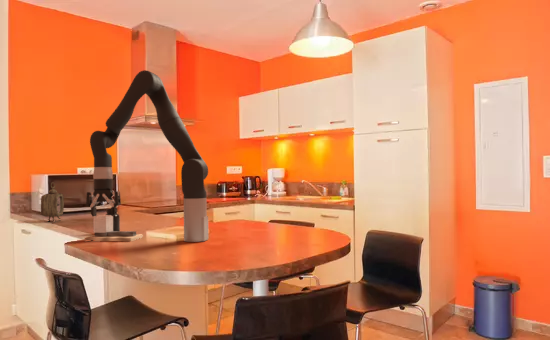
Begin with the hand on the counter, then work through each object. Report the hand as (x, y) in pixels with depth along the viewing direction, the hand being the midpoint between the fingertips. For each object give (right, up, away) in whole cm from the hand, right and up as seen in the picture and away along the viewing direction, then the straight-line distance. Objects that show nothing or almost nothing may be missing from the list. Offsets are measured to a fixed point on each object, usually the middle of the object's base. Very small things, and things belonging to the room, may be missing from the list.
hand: (103, 216), depth 168 cm
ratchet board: (+5, -10, -1) cm, 11 cm away
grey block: (0, -7, 0) cm, 7 cm away
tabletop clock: (-68, -13, +81) cm, 106 cm away
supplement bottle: (-4, -11, +18) cm, 22 cm away
